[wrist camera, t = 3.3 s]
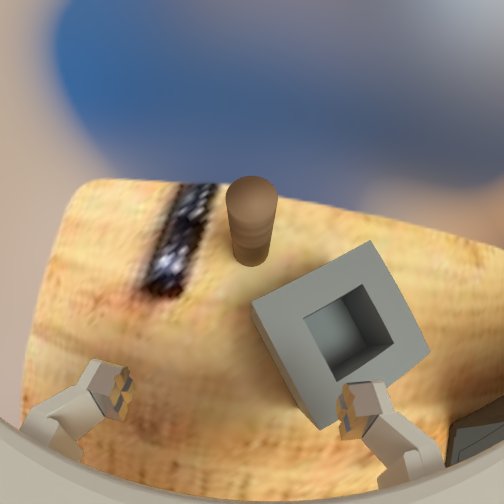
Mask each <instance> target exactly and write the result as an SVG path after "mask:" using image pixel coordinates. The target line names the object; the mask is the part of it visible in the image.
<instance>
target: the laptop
mask: <svg viewBox="0 0 504 504" xmlns="http://www.w3.org/2000/svg"><path fill="white" fill-rule="evenodd" d="M503 440H504V396H502V397H501V398H499V399H497V400H496V401H494V402H492V403H490V404H489V405H487V406H485V407H483V408H481V409H480V410H478V411H476V412H474V413H472V414H470V415H468V416H466V417H464V418H462V419H460V420H457V421H455V422H454V423H453V425H452V426H450V431H449V440H448V449H447V456H446V463H445V467H446V468H448V467H450V466H453V465H455V464H457V463H460V462H462V461H464V460H466V459H468V458H470V457H473V456H475V455H477V454H479V453H481V452H483V451H485V450H486V449H488V448H490V447H492V446H494V445H495V444H497V443H499V442H501V441H503Z"/></svg>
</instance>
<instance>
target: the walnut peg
mask: <svg viewBox="0 0 504 504" xmlns="http://www.w3.org/2000/svg"><path fill="white" fill-rule="evenodd" d="M277 201H278V195H277V192H276V189H275V188H274V186H273V185H272V184H271V183H270V182H269V181H267V180H266V179H263V178H261V177H257V176H246V177H242V178H240V179H238V180H236V181H235V182H233V183H232V184H231V185H230V187H229V188H228V190H227V193H226V205H227V212H228V218H229V225H230V232H231V238H232V245H233V251H234V256H235V258H236V259H237V261H238V262H239V263H241V264H242V265H245V266H249V267H253V266H257V265H260V264H261V263H263V262H264V261H265V260H266V258H267V256H268V252H269V247H270V241H271V235H272V230H273V224H274V218H275V213H276V207H277Z"/></svg>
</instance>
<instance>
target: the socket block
mask: <svg viewBox="0 0 504 504" xmlns="http://www.w3.org/2000/svg"><path fill="white" fill-rule="evenodd" d="M251 318H252V320H253V322H254V324H255V326H256V328H257V330H258V332H259V334H260V336H261V338H262V340H263V342H264V344H265V346H266V347H267V349H268V351H269V353H270V355H271V357H272V359H273V361H274V363H275V365H276V367H277V368H278V370H279V372H280V374H281V376H282V378H283V380H284V382H285V383H286V385H287V387H288V389H289V391H290V393H291V394H292V396H293V398H294V400H295V402H296V404H297V405H298V407H299V409H300V410H301V411H302V412H303V413H304V414H305V415H306V417H307V418H308V419H309V420H310V421H311V422H312V423H313V424H314V425H315V426H316V427H317V428H318V429H319V430H322V429H323V428H325V427H327V426H329V425H331V424H332V423H334V422H336V421H337V420H339V419H338V418H337V415H336V402H337V399H338V396H339V395H340V394H342V393H343V392H342V387H343V385H344V384H345V383H351V382H362V381H376V380H383V381H384V383H385V386H386V388H387V387H388V386H390V385H391V384H392V383H394V382H395V381H396V380H398V379H399V378H400V377H401V376H403V375H404V374H405V373H406V372H408V371H409V370H410V369H411V368H413V367H414V366H415V365H416V364H417V363H419V362H420V361H421V360H422V359H423V358H424V357H425V356H427V355H428V354H429V353H430V350H429V347H428V345H427V343H426V341H425V339H424V337H423V335H422V332H421V330H420V328H419V326H418V324H417V322H416V320H415V318H414V316H413V314H412V312H411V310H410V308H409V307H408V305H407V303H406V301H405V299H404V297H403V295H402V293H401V292H400V290H399V288H398V286H397V284H396V283H395V281H394V279H393V277H392V275H391V274H390V272H389V270H388V269H387V267H386V265H385V263H384V262H383V260H382V258H381V257H380V255H379V253H378V252H377V250H376V248H375V247H374V245H373V244H372V242H371V240H369V241H367V242H366V243H364V244H362V245H360V246H358V247H357V248H355V249H353V250H351V251H349V252H347V253H346V254H344V255H342V256H340V257H338V258H336V259H335V260H333V261H331V262H329V263H327V264H325V265H323V266H321V267H319V268H318V269H316V270H314V271H312V272H310V273H308V274H306V275H304V276H302V277H300V278H298V279H296V280H294V281H292V282H290V283H288V284H286V285H284V286H282V287H280V288H278V289H276V290H274V291H272V292H270V293H268V294H266V295H264V296H262V297H260V298H258V299H256V300H254V301H252V302H251Z"/></svg>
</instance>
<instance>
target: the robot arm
mask: <svg viewBox="0 0 504 504" xmlns="http://www.w3.org/2000/svg"><path fill="white" fill-rule="evenodd" d="M129 374H130V371H129V369H128V367H126V366H122V365H118V364H114V363H110V362H107V361H103V360H99V359H95V358H93V359H92V360H91V361H90V362H89V364H88V365H87V367H86V369H85V370H84V372H83V374H82V375H81V377H80V379H79V381H78V382H77V384H76V386H73V385H72V386H70V387H69V388H67V389H65V390H63V391H61V392H60V393H58V394H56V395H54V396H52V397H51V398H49V399H47V400H45V401H43V402H41V403H40V404H38V405H36V406H34V407H32V409H31V410H30V412H29V414H28V415H27V417H26V419H25V421H24V422H23V424H22V426H21V428H20V430H18V429H17V428H15V427H13V426H12V425H10V424H9V423H7V422H6V421H5V420H3V419H2V418H0V504H504V440H503V441H501V442H499V443H497V444H495V445H494V446H492V447H490V448H488V449H486V450H485V451H483V452H481V453H479V454H477V455H475V456H473V457H470V458H468V459H466V460H464V461H462V462H460V463H457V464H455V465H453V466H450V467H448V468H446V467H445V464H444V461H443V458H442V455H441V452H440V450H439V447H438V444H437V442H436V441H435V440H433V439H432V438H431V437H429V436H428V435H427V434H426V433H424V432H423V431H422V430H420V429H419V428H418V427H417V426H415V425H414V424H413V423H412V422H410V421H409V420H408V419H407V418H405V417H404V416H403V415H402V414H400V413H399V412H395V411H394V408H393V405H392V402H391V400H390V397H389V394H388V391H387V389H386V386H385V383H384V381H383V380H376V381H362V382H351V383H345V384H344V385H343V387H342V392H343V393H342V394H340V395H339V396H338V399H337V402H336V415H337V418H338V419H339V420H340V421H341V423H340V425H339V432H340V437H341V441H342V440H353V439H361V440H362V441H363V442H364V443H365V444H366V445H367V447H368V448H369V449H370V450H371V451H372V452H373V453H374V454H375V455H376V457H377V458H378V459H379V460H380V461H381V462H382V463H383V464H384V465H385V466H386V468H387V469H386V470H385V471H384V472H383V473H382V474H380V475H379V476H378V478H377V482H378V488H379V489H378V490H374V491H369V492H364V493H359V494H353V495H347V496H341V497H333V498H325V499H315V500H302V501H240V500H227V499H217V498H209V497H202V496H195V495H189V494H183V493H178V492H173V491H168V490H164V489H160V488H155V487H151V486H147V485H144V484H140V483H137V482H133V481H130V480H127V479H123V478H120V477H117V476H114V475H112V474H109V473H106V472H103V471H101V470H98V469H95V468H93V467H90V466H88V465H85V464H83V463H81V462H80V461H81V458H82V456H83V453H84V452H83V449H82V448H81V447H80V446H79V445H78V444H77V443H76V441H77V440H79V439H80V438H81V437H82V436H84V435H85V434H86V433H87V432H89V431H90V430H91V429H92V428H94V427H95V426H96V425H97V424H99V423H100V422H101V421H102V420H104V419H105V417H106V418H110V419H113V420H117V421H121V422H124V419H125V417H126V414H127V412H128V407H127V404H128V403H129V402H131V401H132V399H133V396H134V391H135V386H134V382H133V379H131V378H130V377H129Z"/></svg>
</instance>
